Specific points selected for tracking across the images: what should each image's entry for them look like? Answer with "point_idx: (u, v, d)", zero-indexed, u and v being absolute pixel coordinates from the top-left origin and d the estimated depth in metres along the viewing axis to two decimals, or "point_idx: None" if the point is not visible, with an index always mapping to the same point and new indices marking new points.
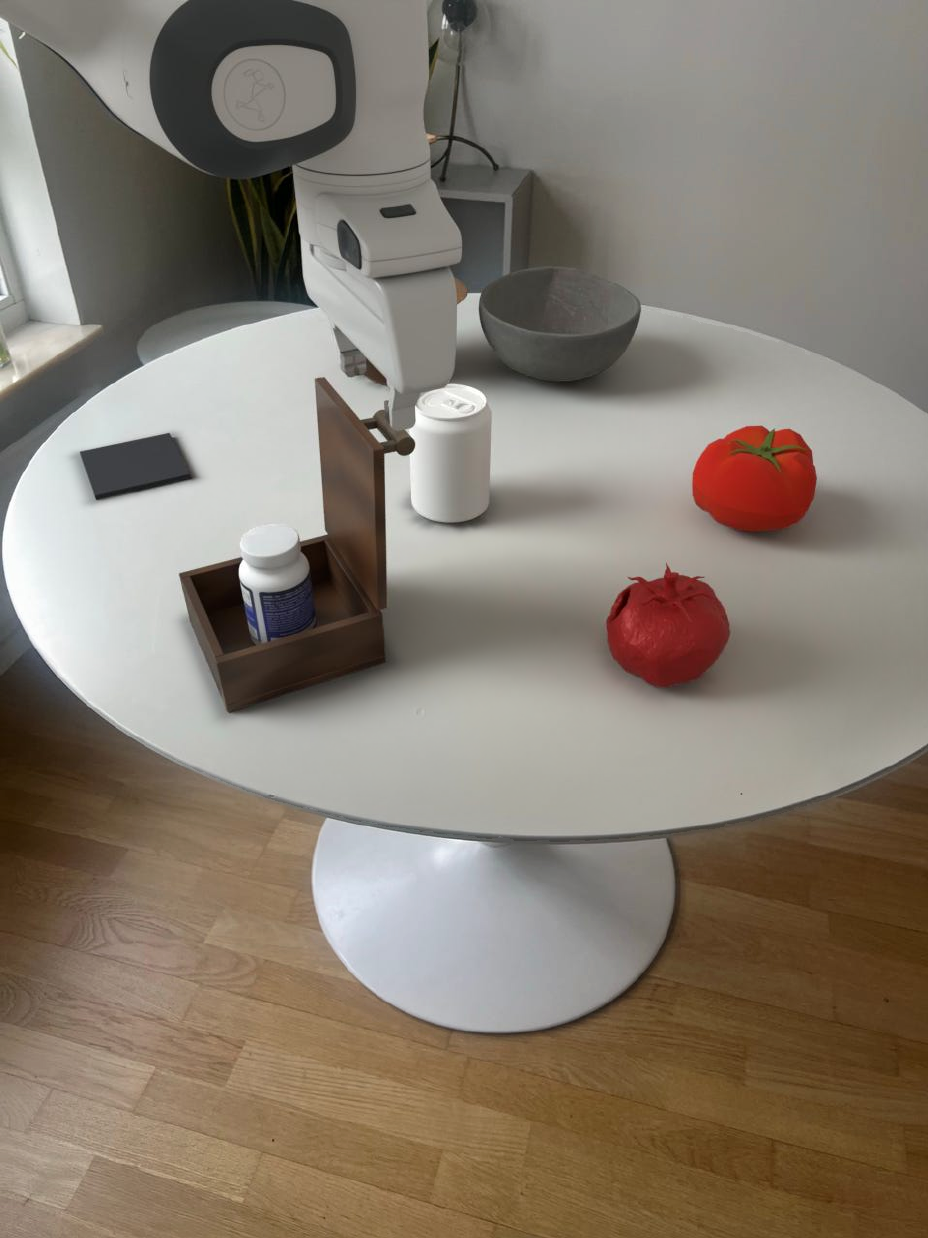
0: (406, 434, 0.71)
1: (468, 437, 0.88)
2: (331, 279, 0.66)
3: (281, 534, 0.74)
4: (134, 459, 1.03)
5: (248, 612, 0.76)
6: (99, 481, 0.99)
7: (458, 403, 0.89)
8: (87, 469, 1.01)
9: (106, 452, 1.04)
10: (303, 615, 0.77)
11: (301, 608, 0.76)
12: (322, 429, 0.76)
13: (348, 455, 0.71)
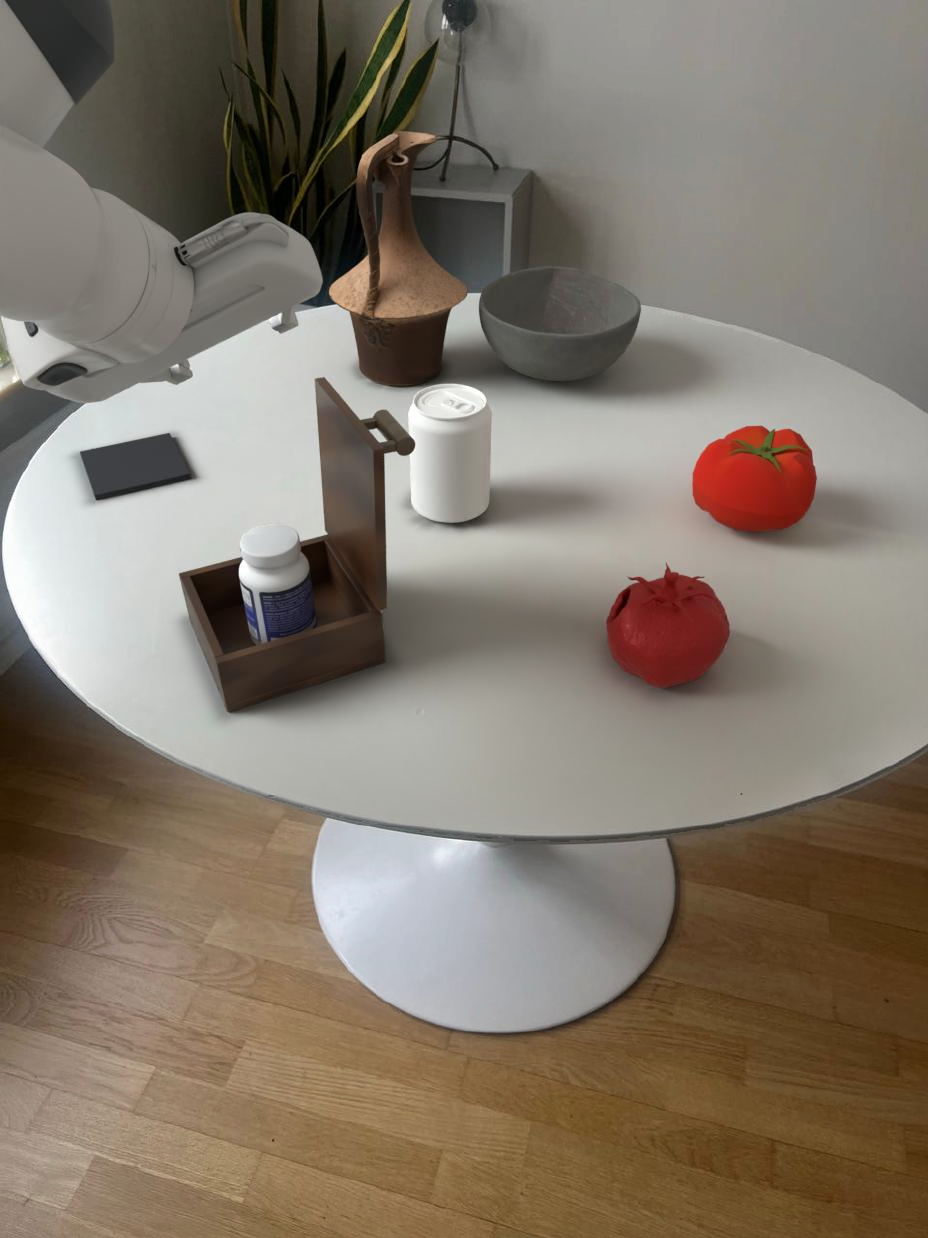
0: (406, 434, 0.71)
1: (468, 437, 0.88)
2: None
3: (281, 534, 0.74)
4: (134, 459, 1.03)
5: (248, 612, 0.76)
6: (99, 481, 0.99)
7: (458, 403, 0.89)
8: (87, 469, 1.01)
9: (106, 452, 1.04)
10: (303, 615, 0.77)
11: (301, 608, 0.76)
12: (322, 429, 0.76)
13: (348, 455, 0.71)
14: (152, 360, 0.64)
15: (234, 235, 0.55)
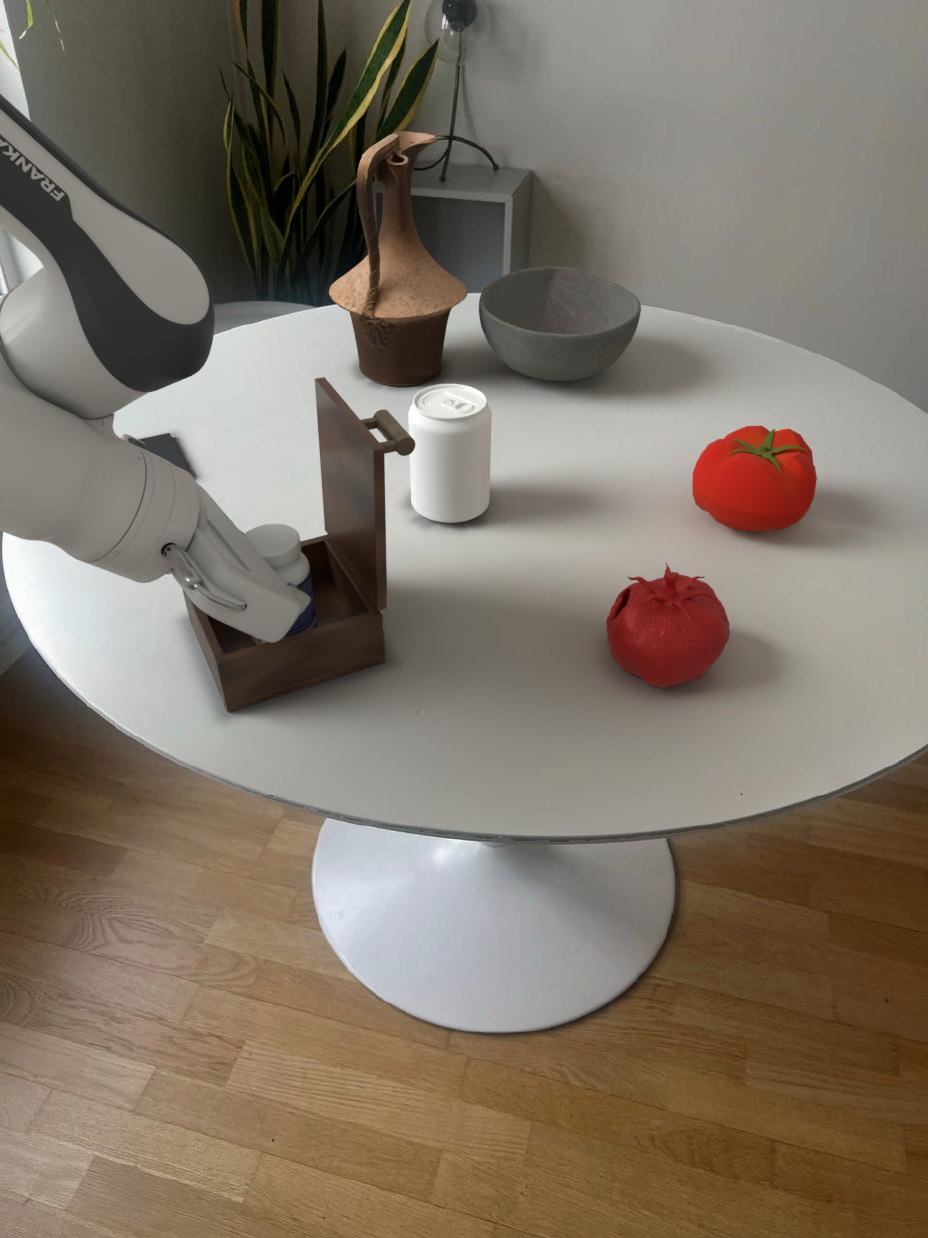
0: (406, 434, 0.71)
1: (468, 437, 0.88)
2: (231, 543, 0.69)
3: (281, 534, 0.74)
4: None
5: None
6: None
7: (458, 403, 0.89)
8: None
9: None
10: (303, 615, 0.77)
11: None
12: (322, 429, 0.76)
13: (348, 455, 0.71)
14: None
15: (183, 583, 0.62)
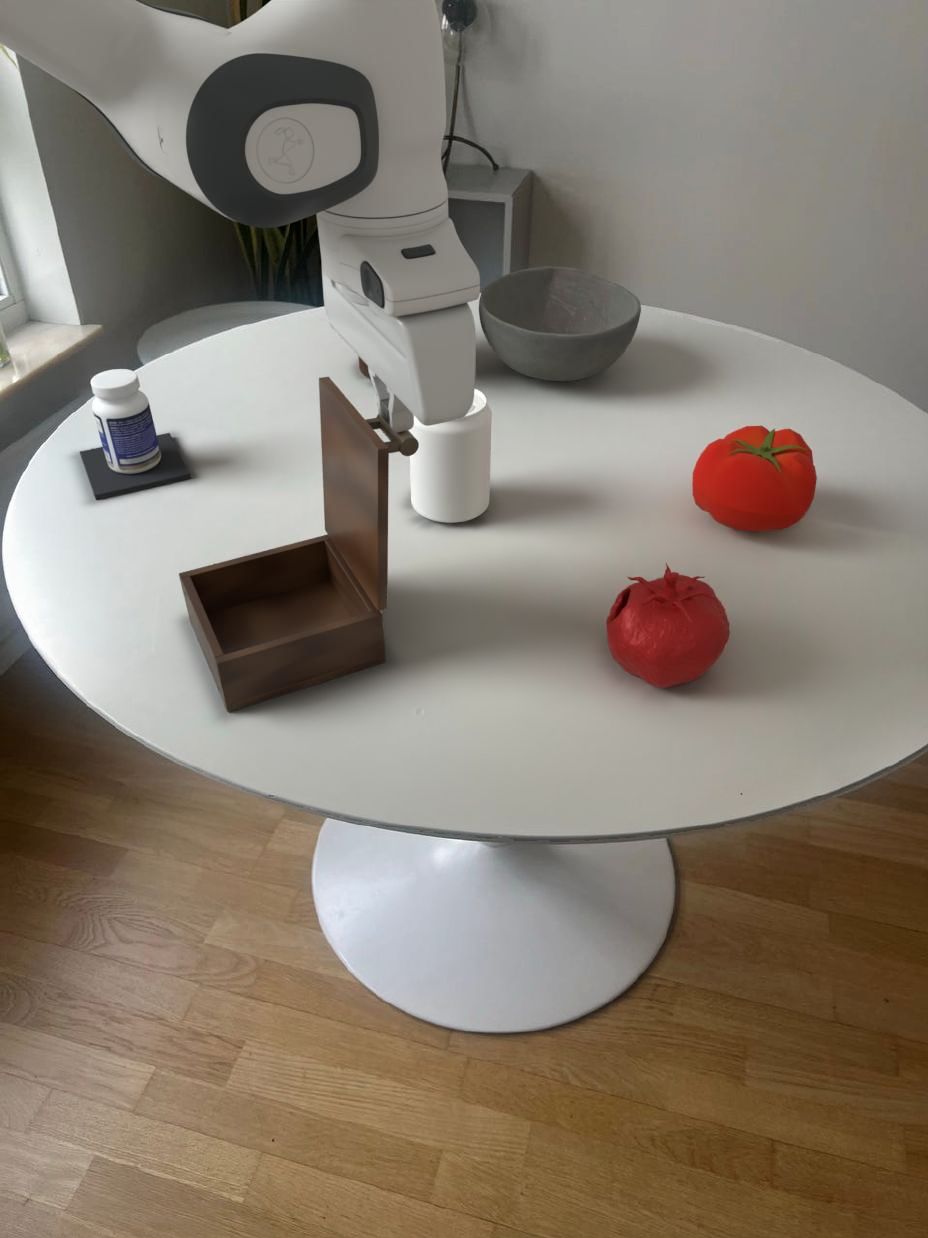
0: (410, 434, 0.71)
1: (468, 437, 0.88)
2: (353, 312, 0.69)
3: (124, 375, 0.96)
4: None
5: (101, 438, 0.98)
6: (99, 481, 0.99)
7: None
8: (87, 469, 1.01)
9: None
10: (144, 441, 0.99)
11: (142, 435, 0.98)
12: (325, 428, 0.76)
13: (351, 454, 0.71)
14: None
15: None
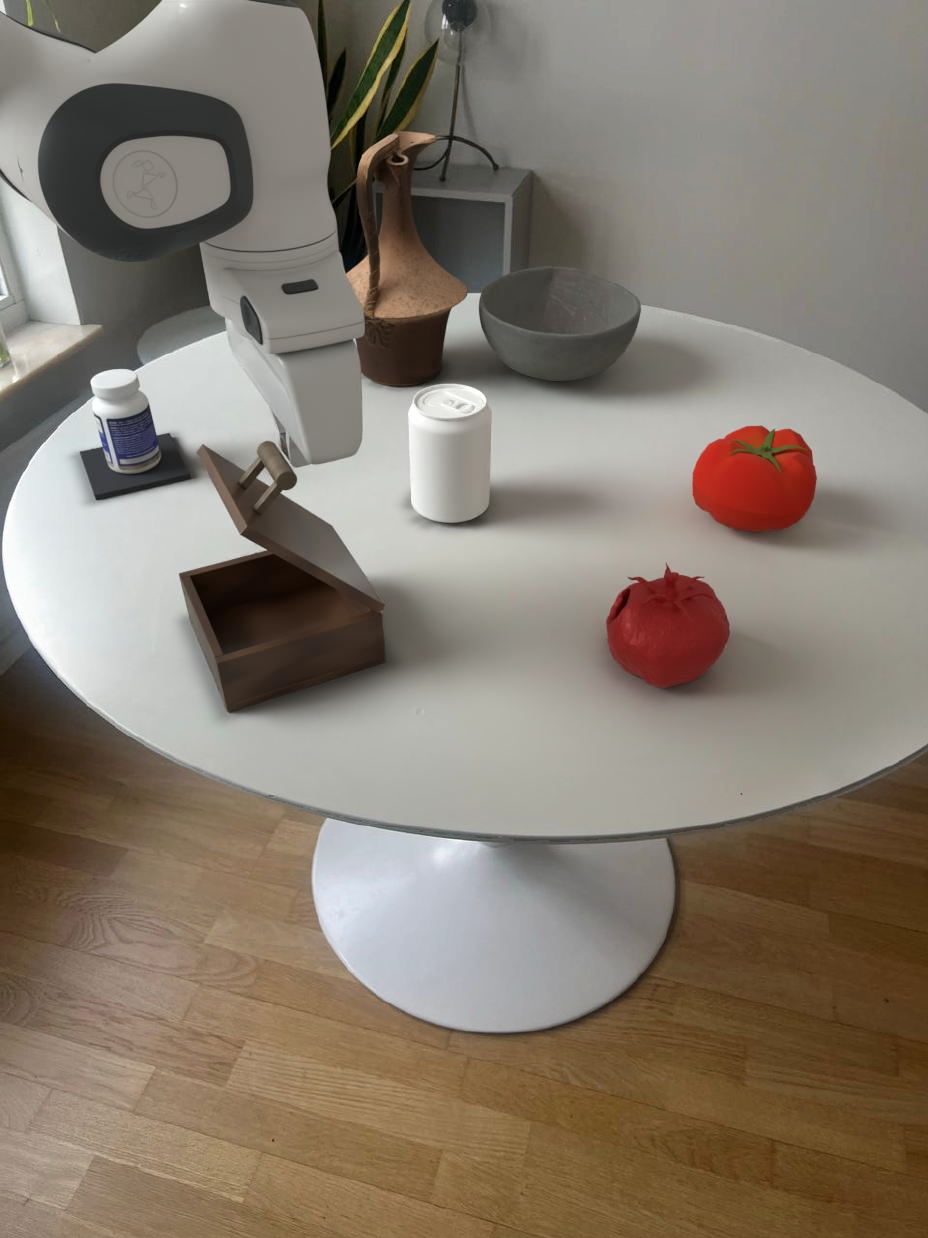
0: (279, 470, 0.68)
1: (468, 437, 0.88)
2: (248, 344, 0.66)
3: (123, 375, 0.96)
4: None
5: (101, 438, 0.98)
6: (99, 481, 0.99)
7: (458, 403, 0.89)
8: (87, 469, 1.01)
9: None
10: (144, 441, 0.99)
11: (142, 435, 0.98)
12: None
13: None
14: None
15: None
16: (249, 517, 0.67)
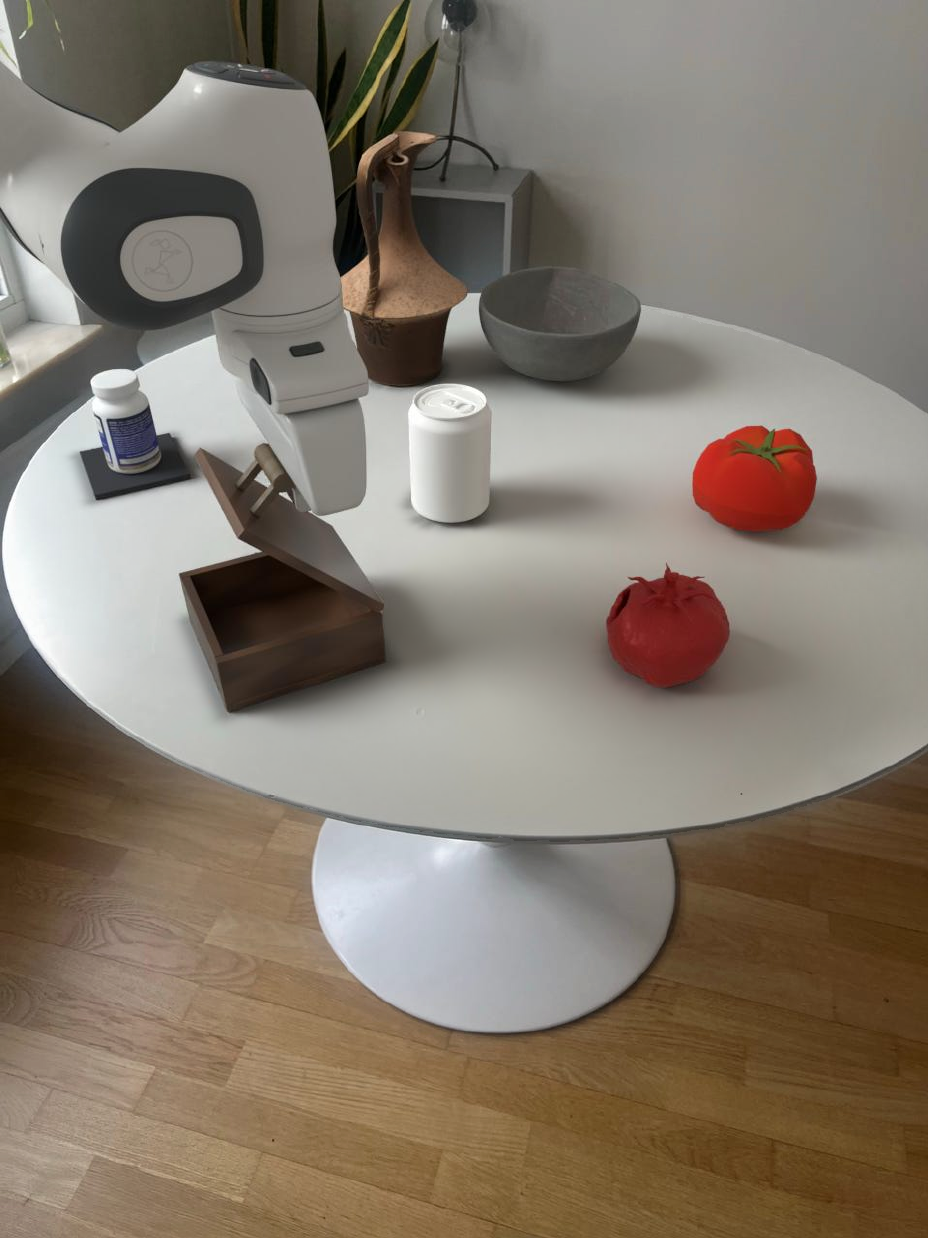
0: (276, 472, 0.68)
1: (468, 437, 0.88)
2: (256, 395, 0.69)
3: (123, 375, 0.96)
4: None
5: (101, 438, 0.98)
6: (99, 481, 0.99)
7: (458, 403, 0.89)
8: (87, 469, 1.01)
9: None
10: (144, 441, 0.99)
11: (142, 435, 0.98)
12: None
13: None
14: None
15: None
16: (246, 520, 0.67)
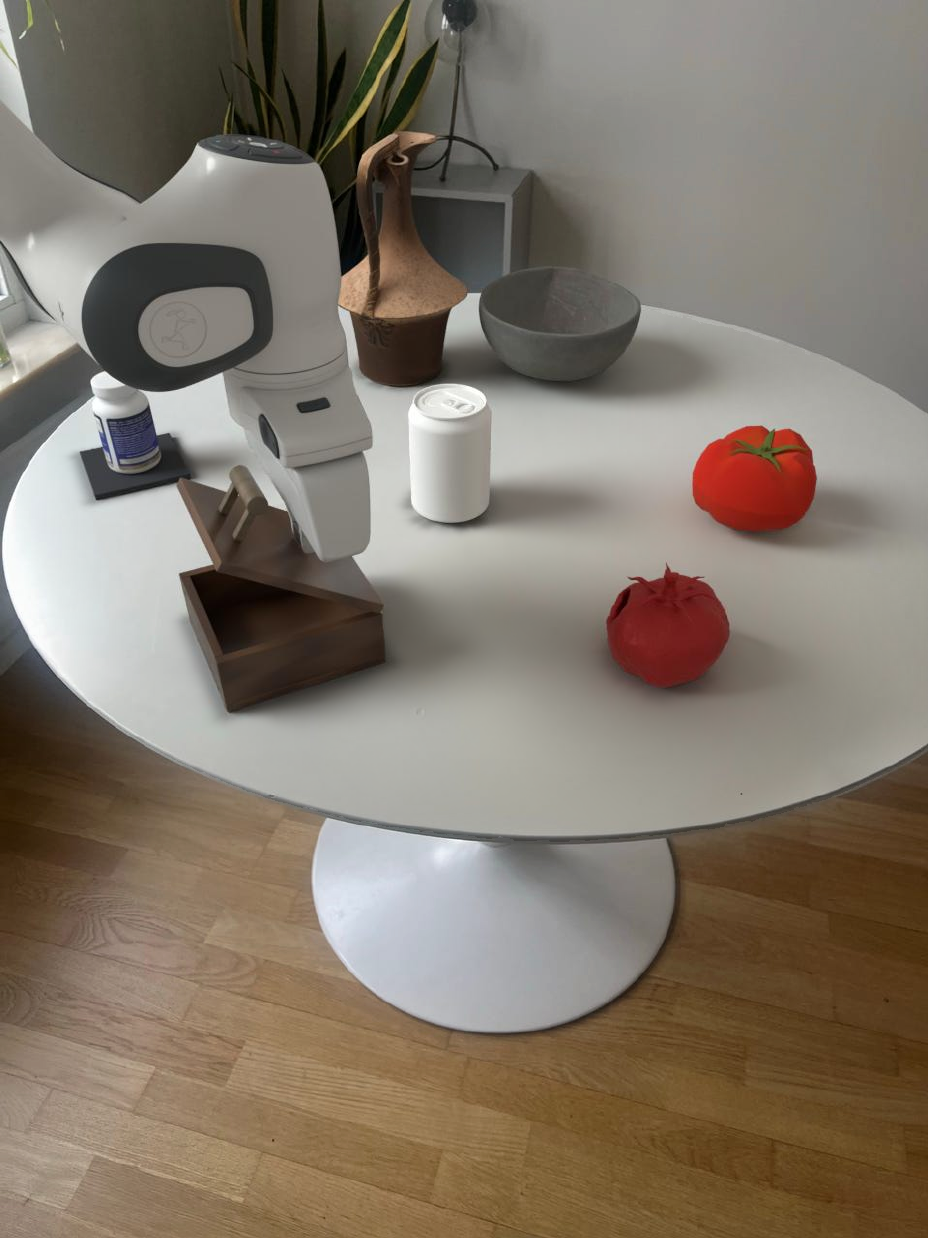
0: (248, 497, 0.68)
1: (468, 437, 0.88)
2: None
3: None
4: None
5: (101, 438, 0.98)
6: (99, 481, 0.99)
7: (458, 403, 0.89)
8: (87, 469, 1.01)
9: None
10: (144, 441, 0.99)
11: (142, 435, 0.98)
12: None
13: None
14: None
15: None
16: (225, 550, 0.67)
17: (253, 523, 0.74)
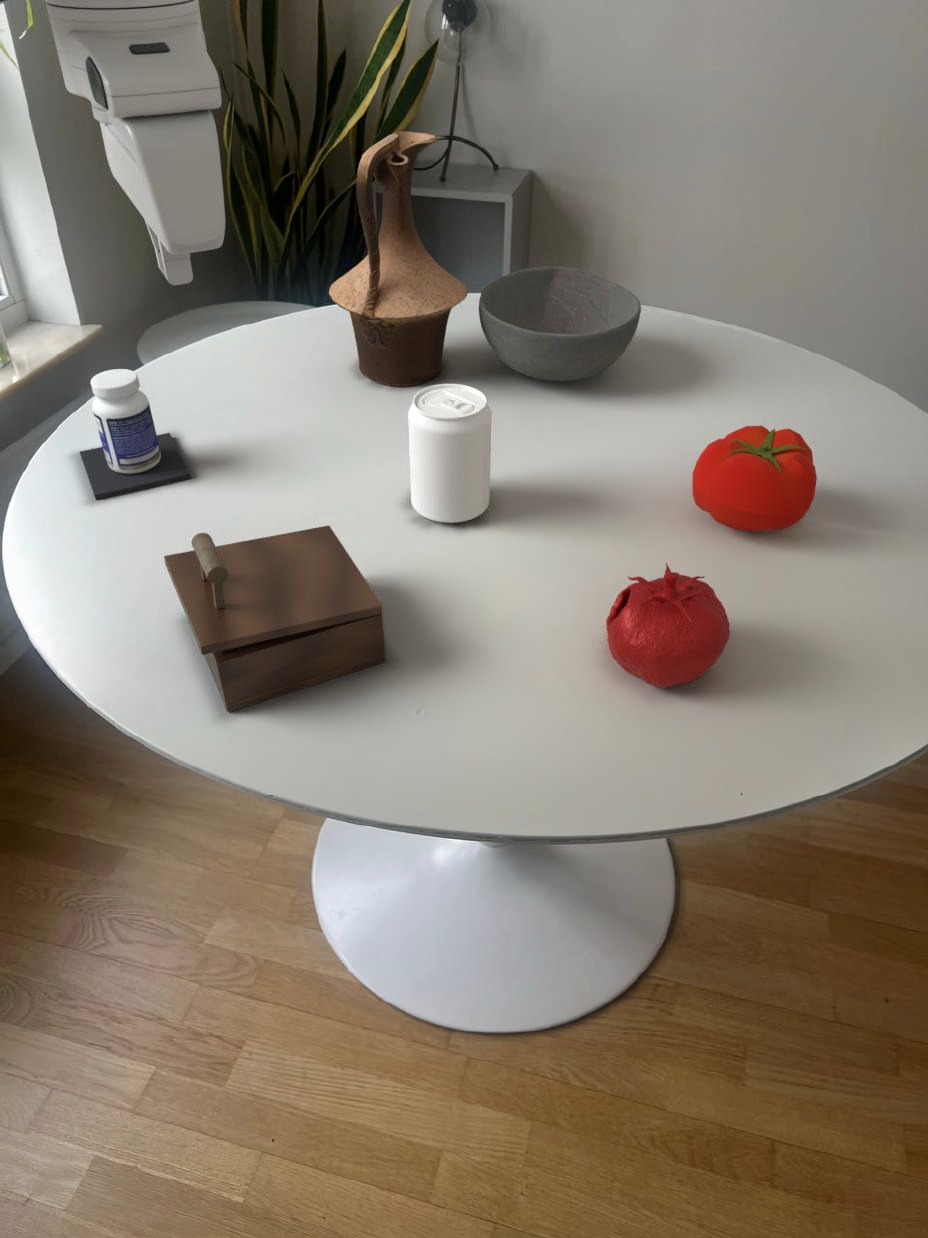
0: (205, 571, 0.70)
1: (468, 437, 0.88)
2: (117, 146, 0.63)
3: (123, 375, 0.96)
4: None
5: (101, 438, 0.98)
6: (99, 481, 0.99)
7: (458, 403, 0.89)
8: (87, 469, 1.01)
9: None
10: (144, 441, 0.99)
11: (142, 435, 0.98)
12: None
13: None
14: None
15: None
16: (206, 628, 0.71)
17: (239, 573, 0.76)
